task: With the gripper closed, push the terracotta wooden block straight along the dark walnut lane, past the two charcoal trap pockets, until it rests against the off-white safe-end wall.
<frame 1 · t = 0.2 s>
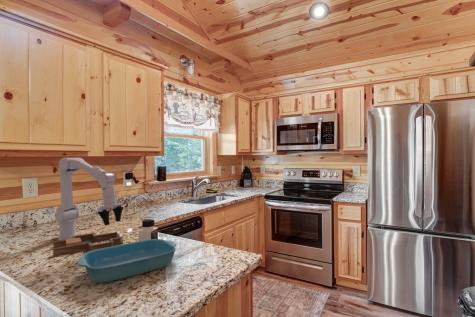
hand: (112, 223, 131), 10 cm above the countertop, tool pointing down, fingers open, 7 cm apart
casserole dish: (131, 268, 103), on the countertop
trap lane: (87, 245, 129), on the countertop
medicine bottle: (148, 243, 133), on the countertop
block: (73, 248, 125), resting in trap lane
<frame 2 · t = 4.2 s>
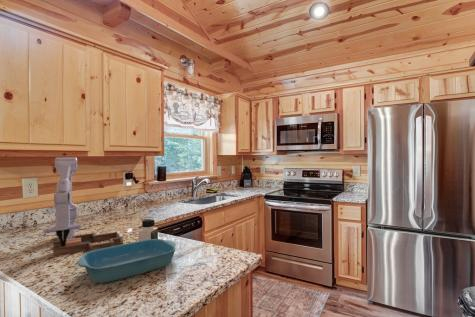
hand: (63, 245, 123), 2 cm above the countertop, tool pointing down, fingers closed
block: (73, 248, 125), resting in trap lane, touching gripper
everything else where it was.
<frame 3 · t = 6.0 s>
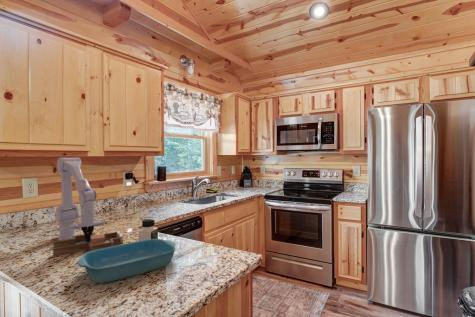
hand: (87, 241, 129), 2 cm above the countertop, tool pointing down, fingers closed
block: (97, 244, 131), resting in trap lane, touching gripper
everything else where it was.
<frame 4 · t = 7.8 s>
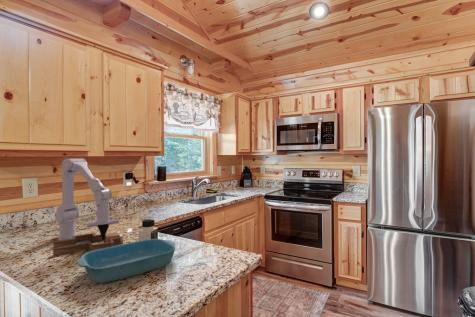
hand: (103, 239, 132), 2 cm above the countertop, tool pointing down, fingers closed
block: (111, 241, 134), resting in trap lane, touching gripper
everything else where it was.
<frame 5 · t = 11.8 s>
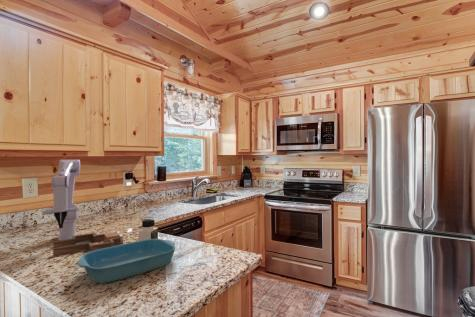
hand: (60, 227, 127), 9 cm above the countertop, tool pointing down, fingers closed
block: (111, 242, 134), resting in trap lane
everything else where it was.
at the end: block 0.5 cm from the target spot, resting in trap lane; block tilted 0°; the gripper is holding nothing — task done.
